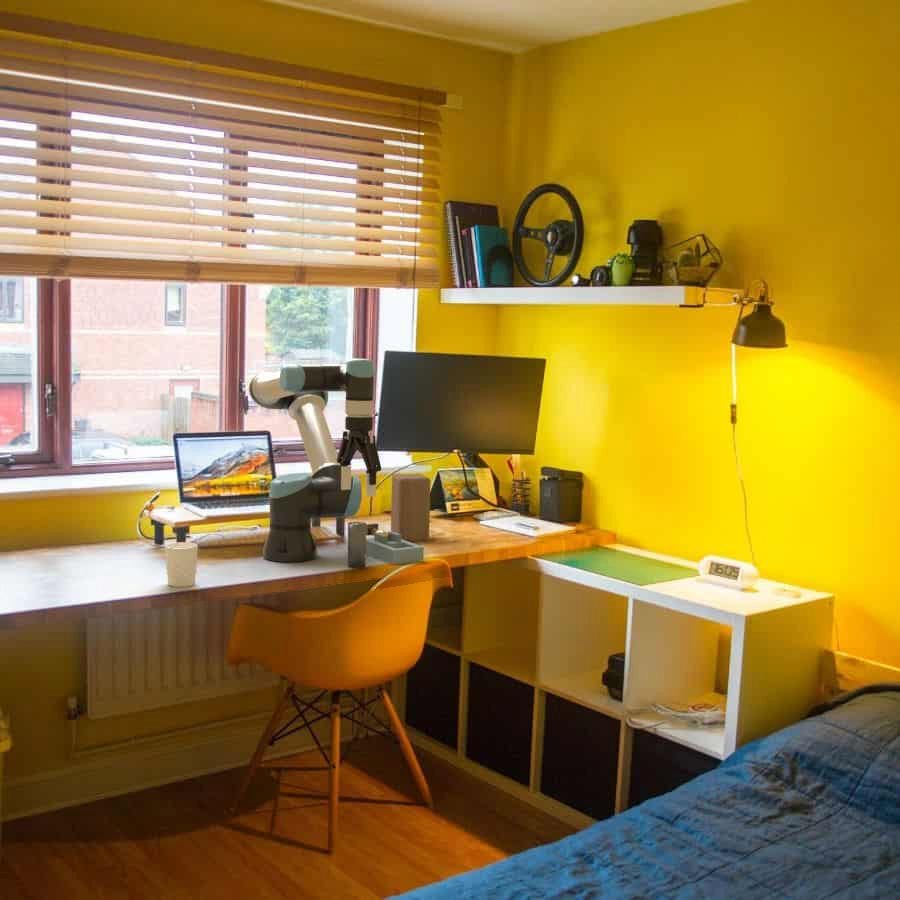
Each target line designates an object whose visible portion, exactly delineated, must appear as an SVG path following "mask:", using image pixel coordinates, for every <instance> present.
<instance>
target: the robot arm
mask: <svg viewBox="0 0 900 900" xmlns="http://www.w3.org/2000/svg"><path fill="white" fill-rule="evenodd" d="M374 364H375V363H374V361H373V360H372V359H370V358H348V359H347V360H346V363H337V364H334V363H333V364H327V363H326V364H308V363H307V364H306V363H305V364H302V363H301V364H299V363H291V364H284V365H283V366H281V368H280V370H278V371H266V372H261V373H259V374H256V375H255V376H254V377H253V378H252V379H251V381H250V383H249V387H248V390H249V391H248V392H249V393H248V394H249V396H250V398H251V400H253V402H254V403H255V404H256V405H258V406H261V407H262V408H265V409H269V410H287V413H288V415H289V417H290V418H291V419H292V420H295V421H296V425H297V428H298V430H299V434H300V437H301V441H302V444H303V447H304V450H305V453H306V455H307V459H308V461H309V462H308V463H309V464H310V468H311V471H312V475H311V474H310V473H305V472H302V473H288V474H285V475H284V474H283V475H280V476H277V477H275V478H274V479H272V480H271V482H270V486H269V487H270V488H269V494H268V497H269V531H268V534H267V537H266V539H265V543H264V546H263V549H262V554H263V555H262V557H263V559H265V560H267V561H271V562H272V561H273V562H279V563H280V562H281V563H282V562H283V563H297V562H298V563H299V562H307V561H312V560H314V559H316V558H317V556H318V549H317V545H316V542H315V539H314V536H313V533H312V520H319V519H320V520H321V519H335V518H339V519H340V518H341V519H344V518H349V517H353V516H356V515H357V514H358V512H359V510H360V508H361V504H362V497H363V488H362V487H363V486H362V482H361V479H360V477H358V476H355V475H353V476H352V460H353V458H354V456H355V455H356V454H355V453H356V452H357V451H358V452H359V453H360V454H361V457H362V459H363V462H364V465H365V468H366V471H365V497H366V498H372V497H377V495H376V493H377V473H379V472H381V471H382V466H381V465H382V464H381V460H380V456H379V453H378V452H379V451H378V448H377V443H376V441H377V440H376V439H377V438H376V435H370V434H369V433H370V432H371V431H372V430H374V417H373V416H372V415H373V414H374V406H375V404H374V389H375V387H374V385H375V384H374V382H375V379H374V377H375V368H374V366H375V365H374ZM330 392H334V393H335V392H337V393H338V392H340V393H341V392H343V393H344V392H345V409H344V410H345V415H347V416H345V426H344V429H345V431H342V440H341V443H340V447H339V450H338V452H337V449H336V447H335V444H334V440H333V438H332V434H331V432H330V429H329V425H328V423H327V419H326V416H325V413H324V411H325V409H326V406H327V405H328V401H329V393H330Z"/></svg>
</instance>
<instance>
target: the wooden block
mask: <svg viewBox="0 0 900 900" xmlns="http://www.w3.org/2000/svg"><path fill="white" fill-rule="evenodd" d="M390 503H391V507H390V509H391V512H390V532H395V533H398V534H401V539H402V540H405V541H408V542H410V543H414V542H415V543H417V542H418V543H419V542H427V541H429V540H430V520H431V519H430V517H431V516H430V513H431V512H430V511H431V479H430V477H428V476H426V475H424V474H421V473H395V474H393V475H392V477H391V502H390Z"/></svg>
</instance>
